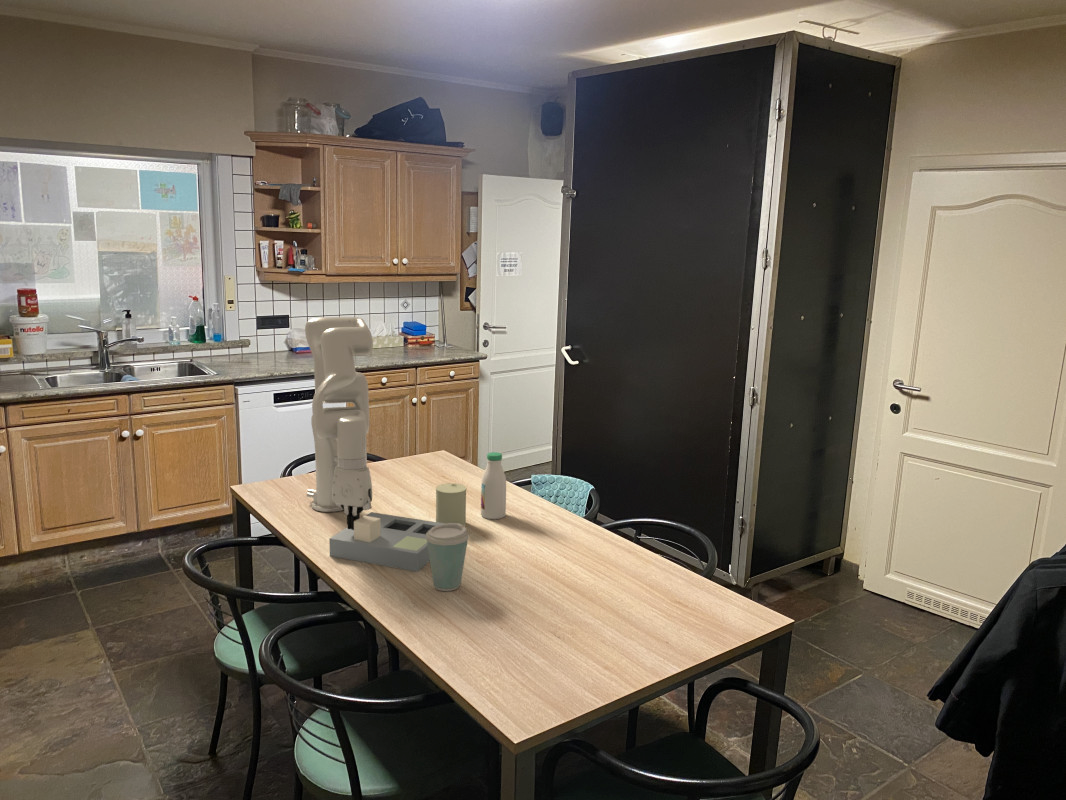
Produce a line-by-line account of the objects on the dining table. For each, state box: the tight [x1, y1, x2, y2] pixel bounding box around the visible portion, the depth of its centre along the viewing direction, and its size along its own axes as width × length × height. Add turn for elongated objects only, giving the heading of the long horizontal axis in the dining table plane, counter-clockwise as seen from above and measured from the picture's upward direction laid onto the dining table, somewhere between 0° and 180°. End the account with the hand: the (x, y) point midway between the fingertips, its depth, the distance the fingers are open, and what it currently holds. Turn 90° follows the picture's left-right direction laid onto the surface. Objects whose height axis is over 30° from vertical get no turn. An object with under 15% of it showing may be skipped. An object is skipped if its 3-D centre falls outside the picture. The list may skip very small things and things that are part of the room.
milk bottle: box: [480, 451, 507, 520], centre depth 240 cm, size 8×8×20 cm
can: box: [435, 482, 467, 527], centre depth 232 cm, size 9×9×12 cm
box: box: [328, 511, 444, 572], centre depth 214 cm, size 26×22×5 cm
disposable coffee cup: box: [426, 523, 470, 592], centre depth 191 cm, size 11×11×15 cm
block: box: [354, 515, 381, 542], centre depth 208 cm, size 5×5×5 cm
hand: (353, 527), depth 210 cm, fingers closed
